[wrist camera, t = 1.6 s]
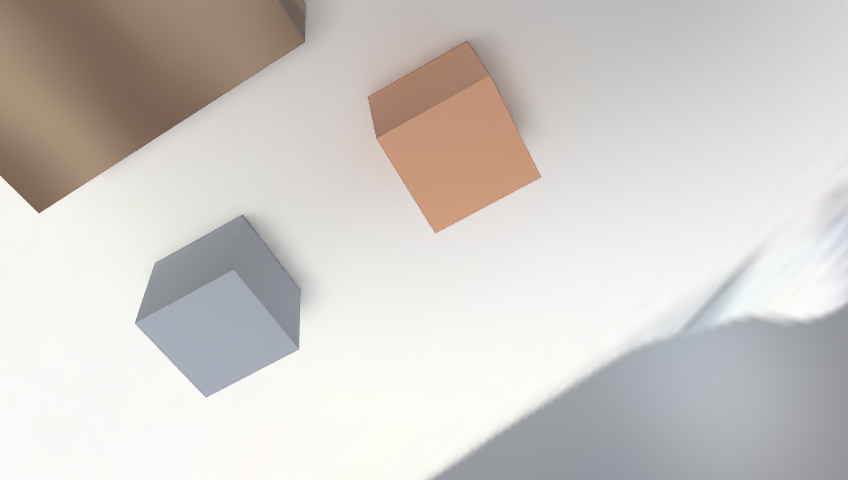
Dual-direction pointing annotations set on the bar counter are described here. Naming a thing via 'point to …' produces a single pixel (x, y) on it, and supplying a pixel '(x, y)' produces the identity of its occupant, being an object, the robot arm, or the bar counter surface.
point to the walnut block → (119, 77)
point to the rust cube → (451, 137)
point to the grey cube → (221, 307)
